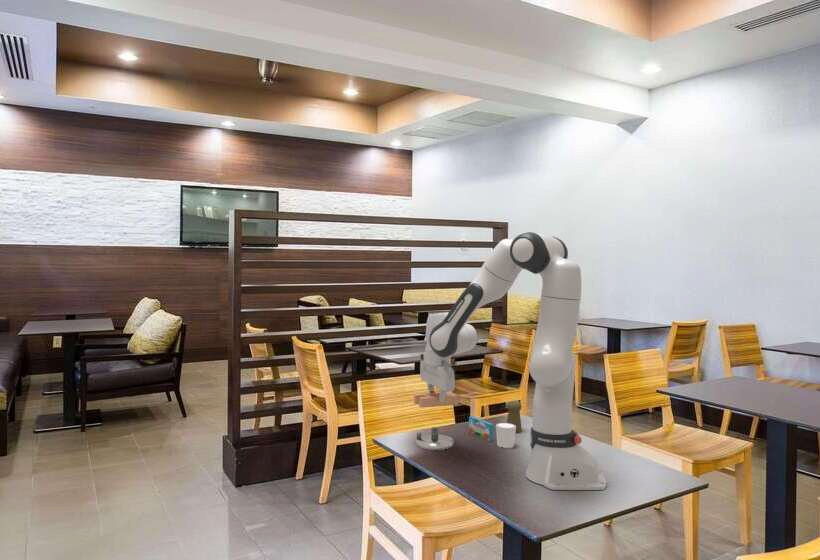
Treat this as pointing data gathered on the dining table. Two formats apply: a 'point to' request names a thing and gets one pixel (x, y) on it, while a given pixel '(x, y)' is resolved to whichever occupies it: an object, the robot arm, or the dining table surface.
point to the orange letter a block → (435, 400)
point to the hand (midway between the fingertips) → (436, 398)
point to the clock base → (434, 441)
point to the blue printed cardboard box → (480, 428)
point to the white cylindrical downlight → (505, 435)
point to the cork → (514, 415)
